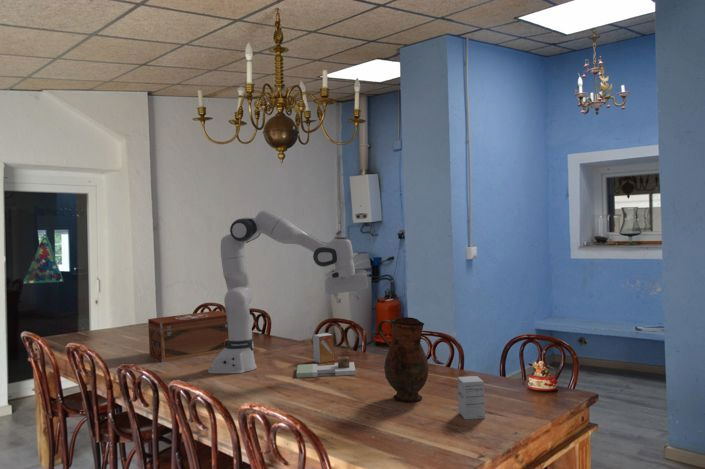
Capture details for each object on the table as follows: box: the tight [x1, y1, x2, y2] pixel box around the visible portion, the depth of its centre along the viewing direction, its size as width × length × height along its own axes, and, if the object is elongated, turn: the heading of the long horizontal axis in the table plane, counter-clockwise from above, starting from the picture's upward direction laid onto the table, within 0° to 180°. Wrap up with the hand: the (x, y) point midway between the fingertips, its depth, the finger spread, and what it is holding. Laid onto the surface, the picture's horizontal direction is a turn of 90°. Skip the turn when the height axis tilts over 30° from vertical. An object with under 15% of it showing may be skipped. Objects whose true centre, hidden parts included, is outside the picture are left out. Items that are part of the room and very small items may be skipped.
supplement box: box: [457, 375, 486, 420], centre depth 205 cm, size 7×7×13 cm
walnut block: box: [337, 355, 350, 368], centre depth 274 cm, size 5×5×4 cm
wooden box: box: [147, 310, 228, 363], centre depth 326 cm, size 20×41×20 cm, turn 126°
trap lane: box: [296, 361, 357, 379], centre depth 273 cm, size 26×16×2 cm, turn 93°
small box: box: [312, 332, 335, 364], centre depth 295 cm, size 8×6×13 cm
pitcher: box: [377, 316, 429, 403], centre depth 229 cm, size 17×21×30 cm
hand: (348, 301), depth 278 cm, fingers open, 8 cm apart
